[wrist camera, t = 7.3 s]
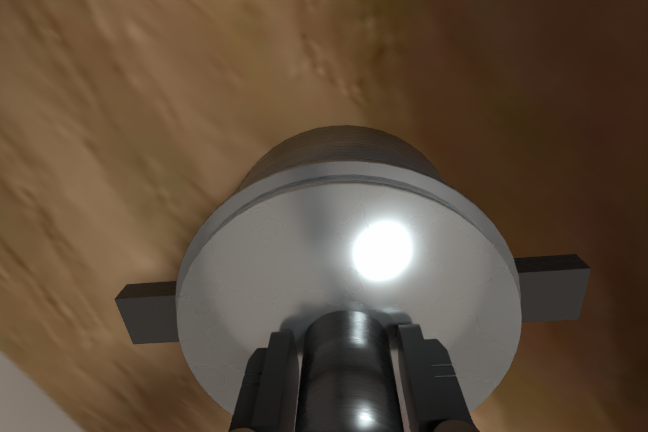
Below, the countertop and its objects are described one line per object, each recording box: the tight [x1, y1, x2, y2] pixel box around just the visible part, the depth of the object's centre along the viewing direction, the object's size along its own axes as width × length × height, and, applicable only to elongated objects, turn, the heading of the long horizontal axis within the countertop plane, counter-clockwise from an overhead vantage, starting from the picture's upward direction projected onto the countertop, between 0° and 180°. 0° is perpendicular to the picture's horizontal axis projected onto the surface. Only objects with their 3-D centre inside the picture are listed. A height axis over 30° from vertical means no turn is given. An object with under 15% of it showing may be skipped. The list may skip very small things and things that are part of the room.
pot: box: [115, 125, 591, 344], centre depth 17 cm, size 13×18×7 cm
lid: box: [177, 174, 522, 432], centre depth 12 cm, size 12×12×5 cm
